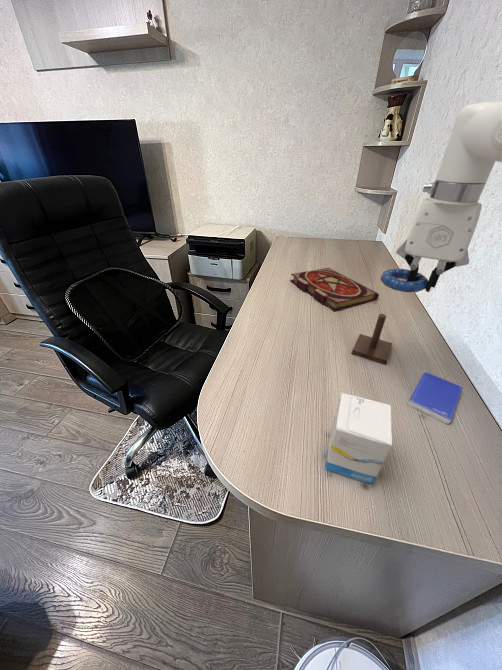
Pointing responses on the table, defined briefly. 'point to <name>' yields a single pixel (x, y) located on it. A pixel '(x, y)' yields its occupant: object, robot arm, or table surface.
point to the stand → (373, 344)
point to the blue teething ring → (392, 281)
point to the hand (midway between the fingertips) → (419, 287)
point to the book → (333, 288)
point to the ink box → (359, 438)
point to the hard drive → (436, 397)
